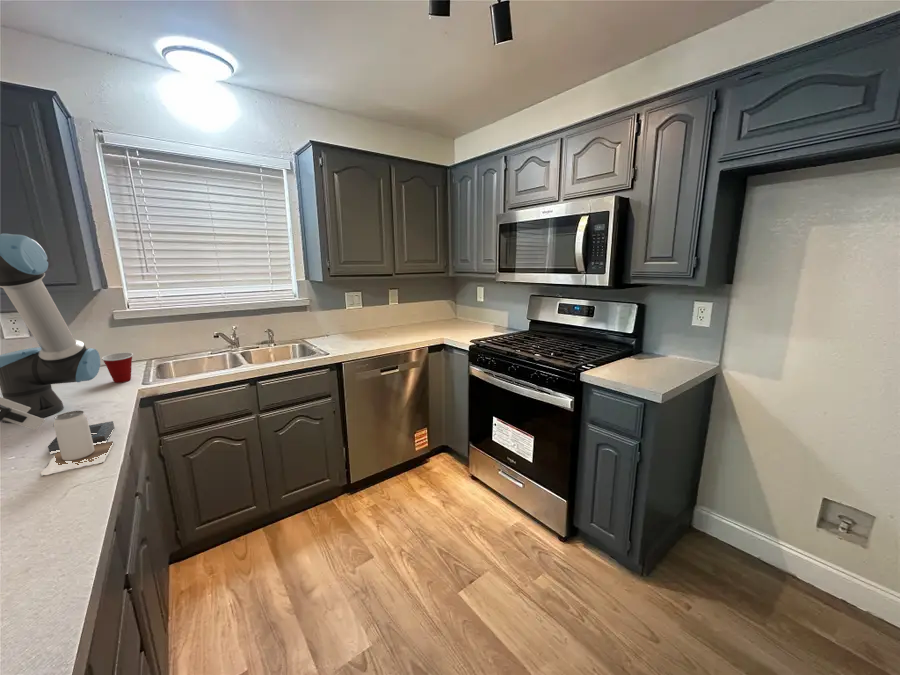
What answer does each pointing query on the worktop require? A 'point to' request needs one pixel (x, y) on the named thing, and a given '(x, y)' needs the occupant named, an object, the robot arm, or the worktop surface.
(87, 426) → the can
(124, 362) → the plastic cup
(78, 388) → the worktop surface
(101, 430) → the steel collar
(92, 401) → the worktop surface
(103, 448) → the walnut pad
